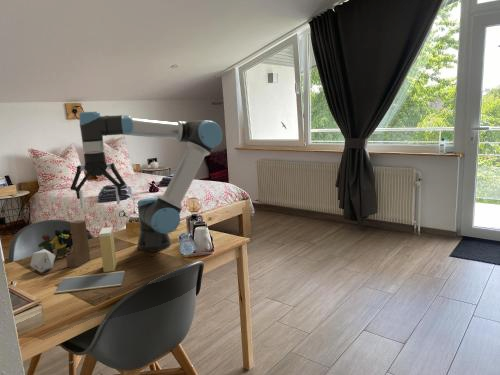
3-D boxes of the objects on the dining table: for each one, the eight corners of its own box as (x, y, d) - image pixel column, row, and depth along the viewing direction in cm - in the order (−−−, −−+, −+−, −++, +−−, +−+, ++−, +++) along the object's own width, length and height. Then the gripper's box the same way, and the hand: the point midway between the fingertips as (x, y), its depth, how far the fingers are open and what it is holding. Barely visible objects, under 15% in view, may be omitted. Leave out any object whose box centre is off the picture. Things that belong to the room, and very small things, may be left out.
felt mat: (125, 272, 157) (124, 270, 157) (121, 286, 145) (121, 284, 145) (63, 279, 153) (63, 277, 153) (54, 294, 140) (54, 292, 140)
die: (27, 276, 159) (35, 259, 155) (28, 259, 165) (35, 243, 161) (50, 277, 164) (58, 261, 160) (49, 261, 170) (57, 245, 166)
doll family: (80, 244, 193) (76, 217, 191) (94, 245, 190) (90, 219, 187) (39, 261, 173) (34, 232, 170) (53, 263, 169) (49, 234, 166)
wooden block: (75, 268, 163) (69, 226, 160) (67, 266, 165) (61, 225, 161) (90, 259, 172) (85, 220, 168) (82, 259, 173) (77, 219, 170)
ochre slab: (116, 263, 167) (112, 227, 163) (114, 271, 159) (109, 232, 156) (106, 264, 166) (102, 228, 163) (103, 272, 158) (99, 233, 155)
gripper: (128, 149, 159) (133, 200, 163) (62, 153, 154) (70, 205, 159) (126, 150, 151) (132, 204, 156) (57, 155, 147) (65, 210, 151)
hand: (100, 205), depth 157 cm, fingers open, 13 cm apart
